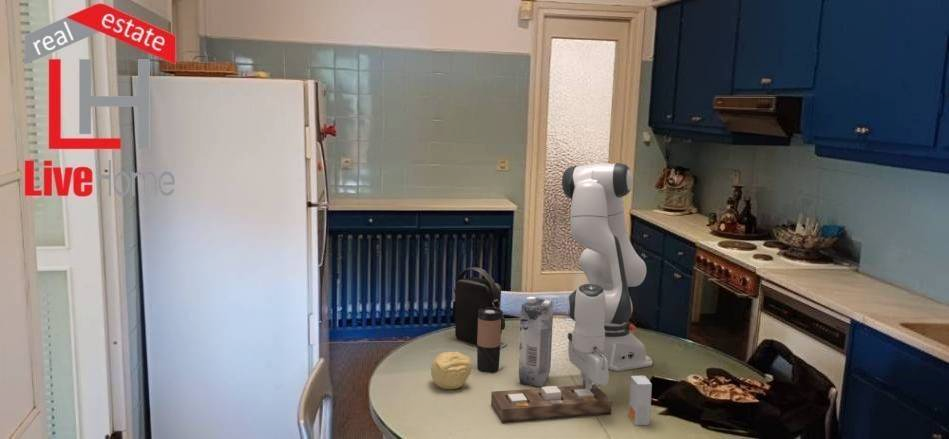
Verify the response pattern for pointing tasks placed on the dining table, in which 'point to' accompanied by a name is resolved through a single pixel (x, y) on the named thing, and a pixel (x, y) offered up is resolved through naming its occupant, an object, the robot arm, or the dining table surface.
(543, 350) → the juice carton
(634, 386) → the skincare box
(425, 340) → the dining table surface
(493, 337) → the travel mug
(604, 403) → the button board
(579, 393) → the button
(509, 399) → the button
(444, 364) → the sculpture
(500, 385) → the dining table surface
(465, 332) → the shoulder bag
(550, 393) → the button middle
